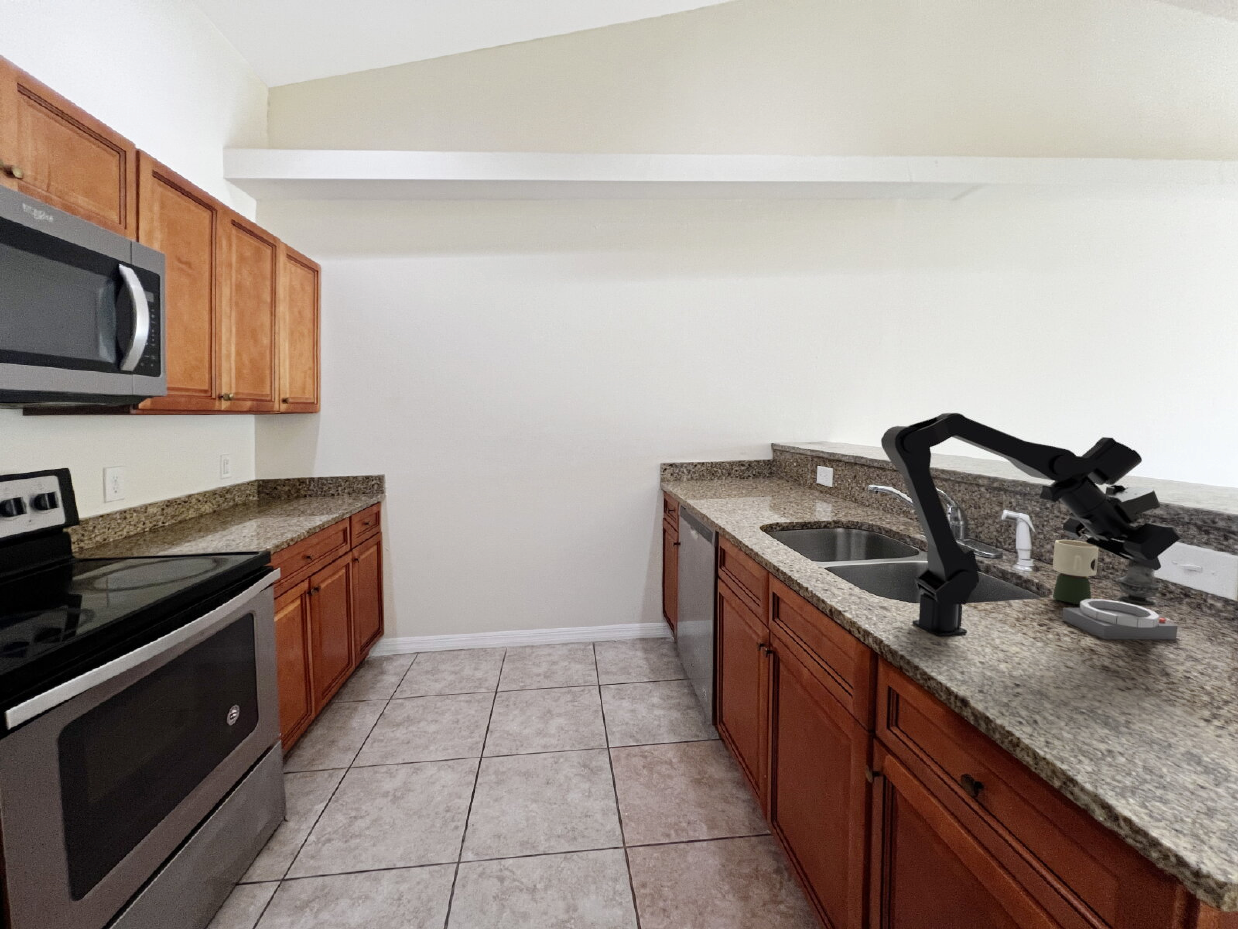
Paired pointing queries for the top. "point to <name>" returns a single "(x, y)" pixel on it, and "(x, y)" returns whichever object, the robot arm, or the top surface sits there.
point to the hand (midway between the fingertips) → (1148, 565)
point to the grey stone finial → (1138, 585)
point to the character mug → (1074, 570)
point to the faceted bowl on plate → (1118, 620)
